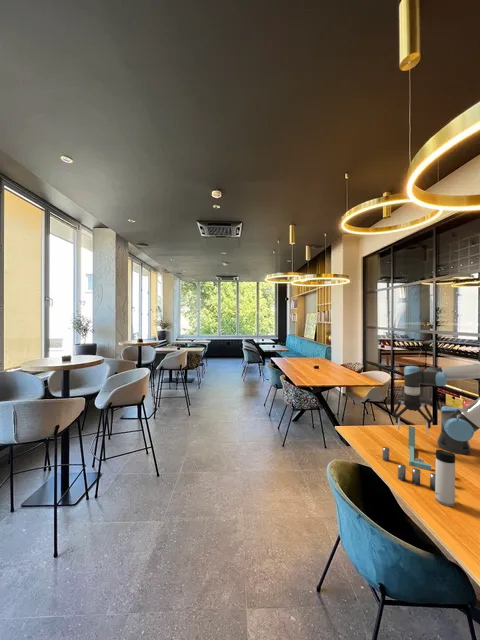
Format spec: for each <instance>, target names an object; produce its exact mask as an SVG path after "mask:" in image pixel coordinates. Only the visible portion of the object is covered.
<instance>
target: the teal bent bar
mask: <svg viewBox="0 0 480 640" xmlns="http://www.w3.org/2000/svg"><path fill="white" fill-rule="evenodd" d="M415 449H416V426H413V425H408V450H409V454H408V455H409V456H408V457H409V460H408V466H410V467H411V466H412V467H414V468H417V469H424V470H426V471H432V464H431V463H430V464H429V463H426V462H425V463H422V462H418V461H415Z"/></svg>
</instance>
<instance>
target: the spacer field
mask: <svg viewBox="0 0 480 640" xmlns="http://www.w3.org/2000/svg"><path fill="white" fill-rule="evenodd" d="M382 461H384V462H389V461H390V447H387V446H383V447H382ZM406 468H407V467H406V465H404V464H402V463H399V464H397V479H398V480H399V481H402V482H406V479H407V477H406V475H407V473H406V472H407V469H406ZM411 475H412V477H411V483H412V484H413V485H415V486H417V487H418V486H420V485H421V470H420V468H418V467H414V468H412V470H411ZM435 475H436V472H435V473H434V472H430V473H429V489H430V490H432V491H433V492H435Z"/></svg>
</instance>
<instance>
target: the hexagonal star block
mask: <svg viewBox="0 0 480 640" xmlns="http://www.w3.org/2000/svg"><path fill="white" fill-rule="evenodd" d="M414 461H418V462H422V463H426V462H425V460H424V459H422V458H419V457H417V458H416V457H414Z"/></svg>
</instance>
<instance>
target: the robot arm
mask: <svg viewBox="0 0 480 640" xmlns="http://www.w3.org/2000/svg"><path fill="white" fill-rule="evenodd" d="M403 370H404V371H403V372H404V373H403V379H404V382H403V383H404V401H402V400H400V399H399V400H398V403H397V405H396V407H395V408H394V410H393V412H392V417H395V423H396V424H397V430H398V431H399V430H401V429H400V428H401V422H400V421H401V420H400V419H401V418H400V416H402V415H403V414H404V413H405V412H406V411H407V410H409V411H414V412H416V411H417V412H418V413H420V415H421V416H422V418H424V420H425V422H426V423H425V425H426V426H425V427H426V428H425V429H426V430H425V431H426V435H427V436H429V429H431V427H432V425H431V423H435V419H434V417H433V415H432V413H431V410H429V408H428V404H427V403H421V395H420V394H421V385H427V386H428V385H429V386H437V387H445V386H447V381H454V380H455V381H457V380H469V379H470V380H472V379H480V363H478V364H477V363H475V364H465V365H455V366H454V365H451V366H443V367H442V366H441V367H432V366H431V367H427V368H426V369H424V370H421V369H420V367H419V366H417V365H415V366H414V365H406V366H404V369H403ZM403 404H404V407H403V408H402V409H400V407H401V406H403ZM421 408H423V409H424V410H425V411H426V414H427V415H426V414H425V413H424V411H422V409H421ZM399 409H400V411H399V412H398V410H399ZM440 415H441V417H440V421H441V422H440V424H441V425H440V434H439V435H438V438H437V441H436V444H437V446H438V447H439V448H440V449H441V450H444V451H446V452H451V453H453V454H458V455H459V454H460V455H469V454H471V452H472V449H471V444H470V442H469V441H470V440H472V438H473V437H474V436H475V432H477V431H478V430H479V429H480V396H479V397H478V398H477V399H475V400H474V401H473V402H471V403H470V404H469V405H467V406H466V407H465V408H461V407H456V406H448V405H447V406H446V405H442V407H441V410H440Z"/></svg>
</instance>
